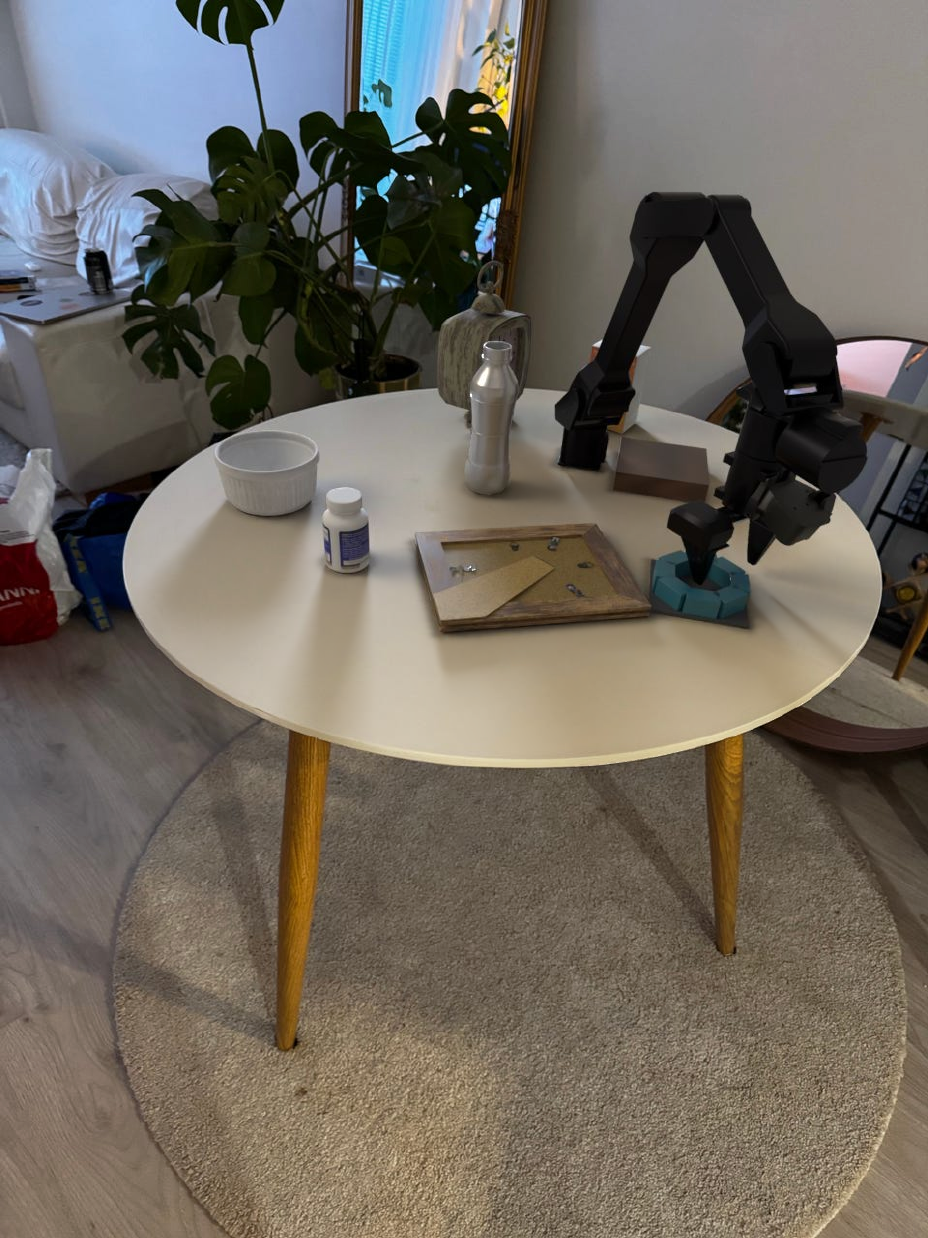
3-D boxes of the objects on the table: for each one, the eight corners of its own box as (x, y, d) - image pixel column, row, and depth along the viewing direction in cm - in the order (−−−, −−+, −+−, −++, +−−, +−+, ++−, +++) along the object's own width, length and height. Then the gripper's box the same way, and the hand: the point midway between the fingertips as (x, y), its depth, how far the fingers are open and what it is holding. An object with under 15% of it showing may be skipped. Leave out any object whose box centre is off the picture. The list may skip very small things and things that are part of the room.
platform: (612, 490, 109) (615, 471, 107) (617, 454, 119) (621, 436, 117) (704, 504, 107) (709, 485, 105) (701, 466, 117) (706, 448, 115)
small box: (578, 422, 129) (590, 344, 121) (593, 411, 133) (606, 335, 125) (623, 434, 125) (638, 355, 118) (636, 423, 130) (652, 346, 122)
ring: (651, 608, 85) (655, 592, 84) (653, 559, 93) (657, 544, 92) (747, 624, 83) (753, 608, 82) (741, 574, 92) (746, 558, 90)
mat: (648, 611, 85) (648, 608, 85) (650, 561, 94) (651, 558, 93) (748, 629, 83) (749, 626, 83) (741, 576, 92) (742, 573, 92)
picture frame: (439, 633, 80) (649, 617, 84) (440, 620, 79) (652, 604, 83) (414, 542, 94) (594, 532, 99) (414, 530, 93) (596, 520, 98)
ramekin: (298, 468, 109) (294, 422, 105) (338, 507, 100) (336, 459, 96) (207, 487, 103) (199, 439, 99) (242, 531, 94) (234, 480, 90)
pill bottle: (377, 556, 91) (375, 489, 86) (358, 578, 87) (355, 510, 82) (337, 546, 92) (333, 480, 87) (317, 568, 88) (311, 500, 83)
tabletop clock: (478, 444, 119) (490, 274, 104) (431, 429, 123) (436, 263, 108) (523, 417, 129) (539, 258, 114) (478, 404, 133) (489, 249, 118)
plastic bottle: (456, 493, 105) (464, 348, 93) (473, 474, 110) (483, 334, 98) (499, 504, 104) (513, 357, 92) (515, 484, 109) (530, 342, 97)
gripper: (765, 501, 71) (722, 633, 80) (883, 464, 79) (832, 586, 88) (679, 455, 78) (649, 580, 87) (796, 425, 86) (757, 542, 96)
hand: (725, 573), depth 90 cm, fingers open, 9 cm apart
